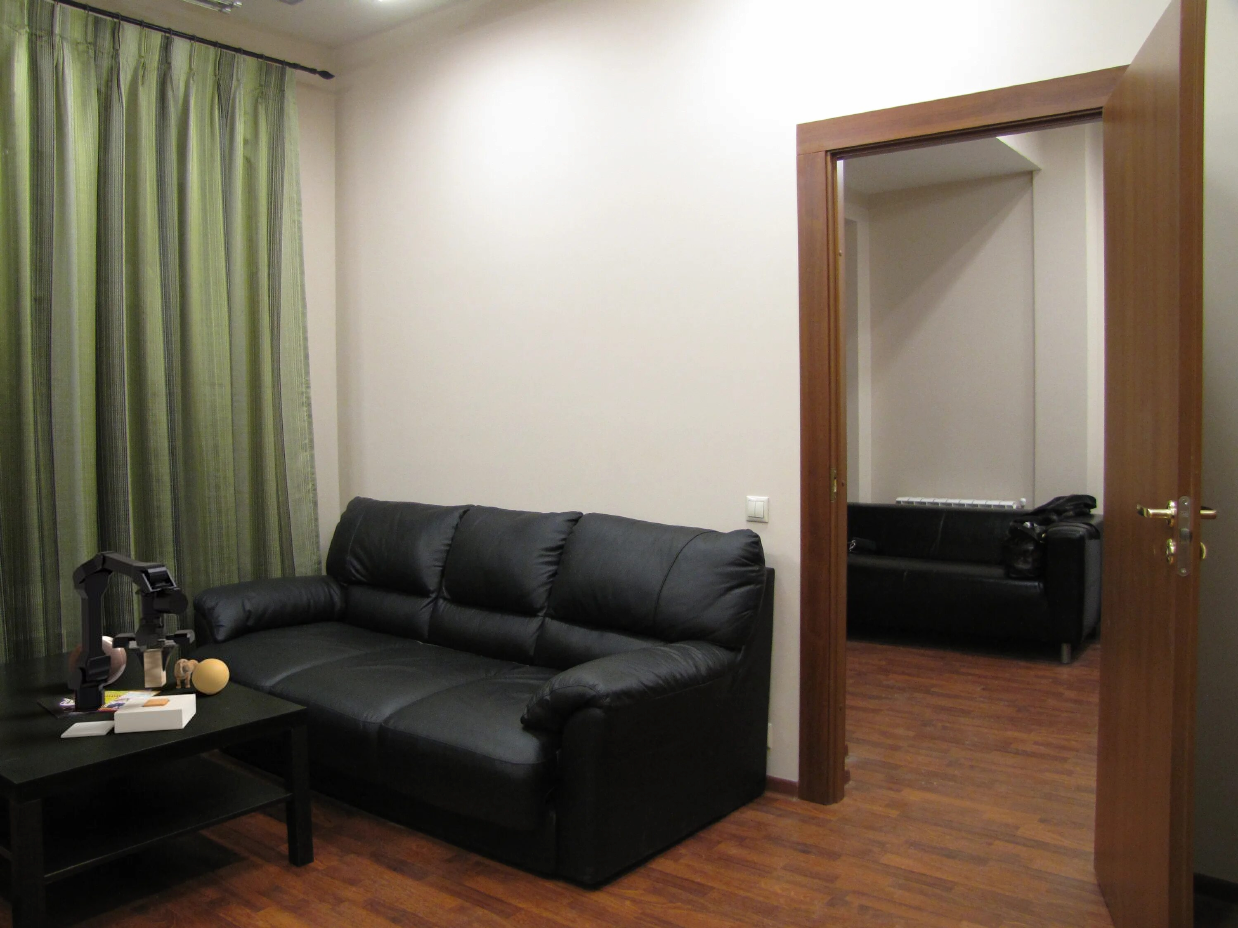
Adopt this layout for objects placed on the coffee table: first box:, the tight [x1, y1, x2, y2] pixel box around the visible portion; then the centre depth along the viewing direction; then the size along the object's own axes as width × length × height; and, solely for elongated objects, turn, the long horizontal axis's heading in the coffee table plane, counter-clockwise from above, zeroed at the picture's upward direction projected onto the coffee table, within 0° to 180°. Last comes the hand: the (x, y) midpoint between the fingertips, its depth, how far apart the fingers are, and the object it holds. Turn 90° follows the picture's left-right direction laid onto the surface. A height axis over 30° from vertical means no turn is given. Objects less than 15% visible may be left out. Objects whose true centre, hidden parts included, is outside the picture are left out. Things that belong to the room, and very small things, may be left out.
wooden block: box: [143, 648, 167, 688], centre depth 247 cm, size 4×4×9 cm
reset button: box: [144, 698, 169, 707], centre depth 247 cm, size 5×5×3 cm
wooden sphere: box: [68, 635, 127, 687], centre depth 283 cm, size 15×15×15 cm
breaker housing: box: [113, 693, 197, 734], centre depth 247 cm, size 16×14×5 cm
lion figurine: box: [173, 658, 199, 689], centre depth 284 cm, size 15×5×9 cm, turn 9°
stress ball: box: [191, 658, 230, 696], centre depth 274 cm, size 10×10×10 cm
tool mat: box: [60, 720, 115, 739], centre depth 241 cm, size 10×10×1 cm
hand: (155, 671), depth 247 cm, fingers closed on wooden block, 4 cm apart
